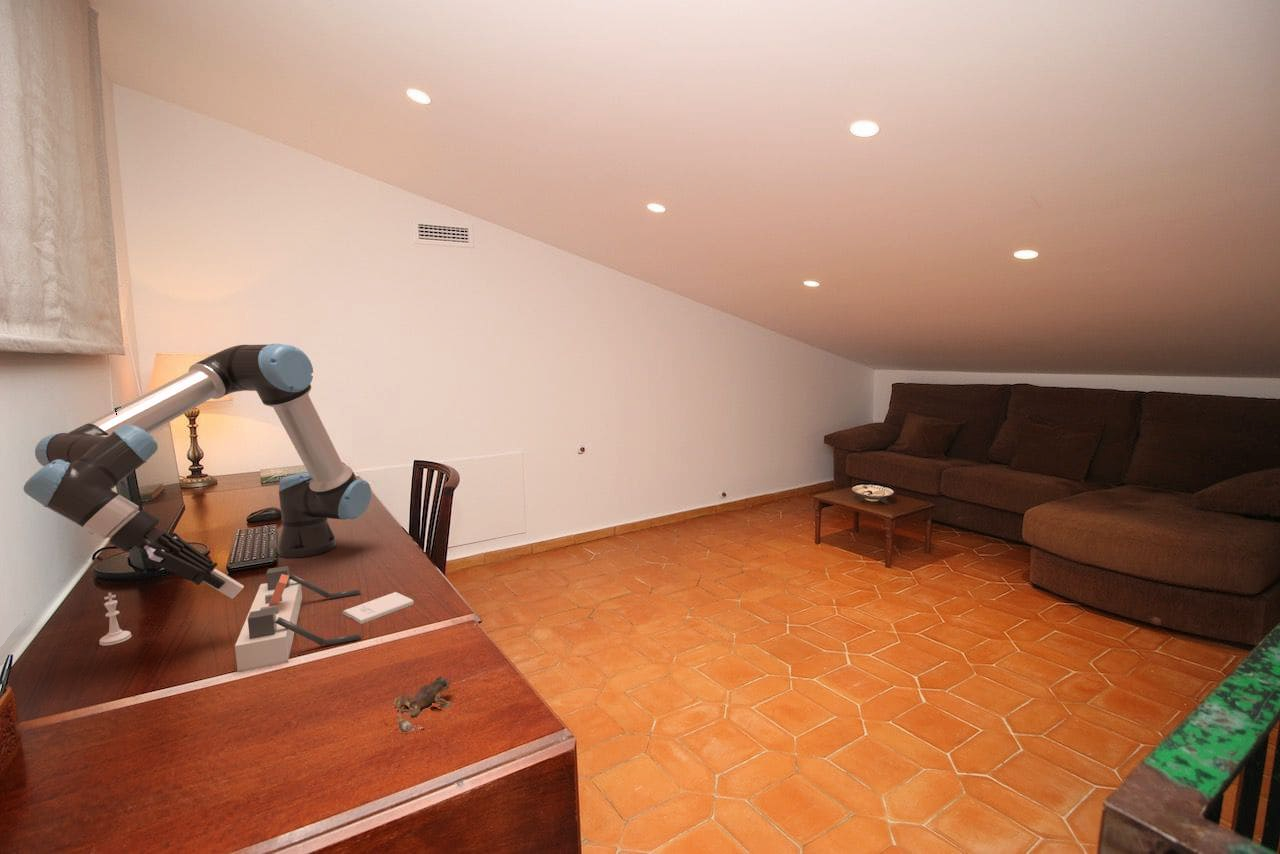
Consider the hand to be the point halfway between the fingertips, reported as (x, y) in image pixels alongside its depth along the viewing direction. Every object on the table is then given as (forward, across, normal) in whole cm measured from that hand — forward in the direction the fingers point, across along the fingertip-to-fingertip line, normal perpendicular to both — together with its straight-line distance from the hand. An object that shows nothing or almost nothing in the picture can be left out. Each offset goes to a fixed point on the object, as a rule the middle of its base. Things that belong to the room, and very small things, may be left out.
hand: (238, 592), depth 119 cm
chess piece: (-9, -10, -23) cm, 27 cm away
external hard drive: (+26, -1, +11) cm, 28 cm away
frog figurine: (+29, +43, +14) cm, 54 cm away
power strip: (+15, 0, +2) cm, 15 cm away
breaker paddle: (+7, 0, +1) cm, 7 cm away
